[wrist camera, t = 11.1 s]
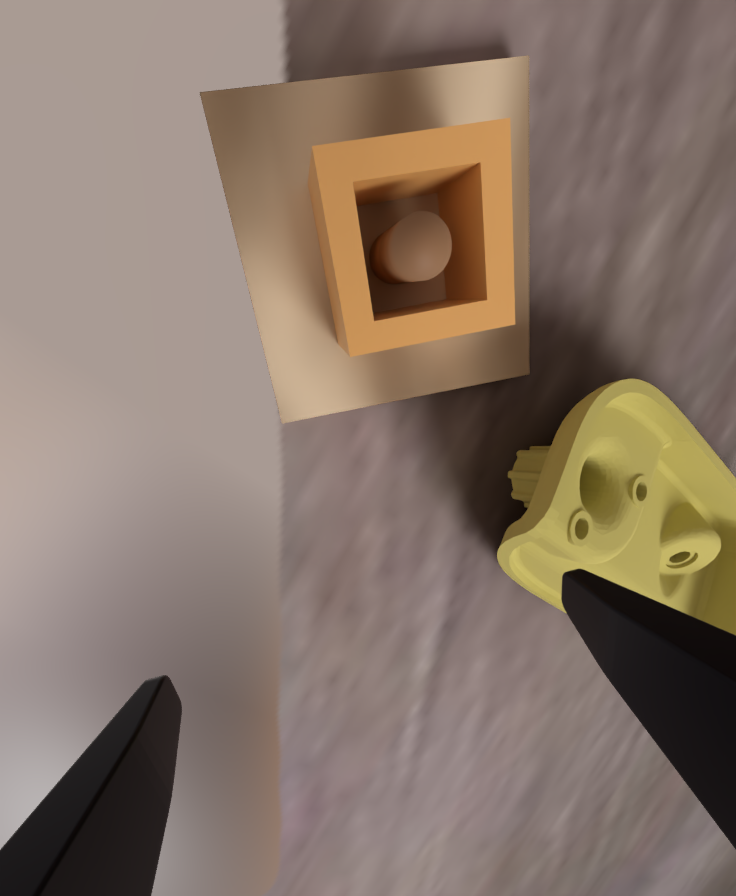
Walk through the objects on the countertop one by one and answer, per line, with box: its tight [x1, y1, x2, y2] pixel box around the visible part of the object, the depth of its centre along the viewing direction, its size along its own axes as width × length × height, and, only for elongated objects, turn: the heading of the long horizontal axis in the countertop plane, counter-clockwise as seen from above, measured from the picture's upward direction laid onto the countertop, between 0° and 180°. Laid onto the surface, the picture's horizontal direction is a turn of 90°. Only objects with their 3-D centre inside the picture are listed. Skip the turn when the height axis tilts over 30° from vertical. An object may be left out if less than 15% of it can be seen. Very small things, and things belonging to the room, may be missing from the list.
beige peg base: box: [200, 56, 529, 423], centre depth 15 cm, size 12×12×5 cm
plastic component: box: [497, 379, 736, 635], centre depth 23 cm, size 20×7×10 cm
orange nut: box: [308, 118, 515, 357], centre depth 15 cm, size 6×6×4 cm
